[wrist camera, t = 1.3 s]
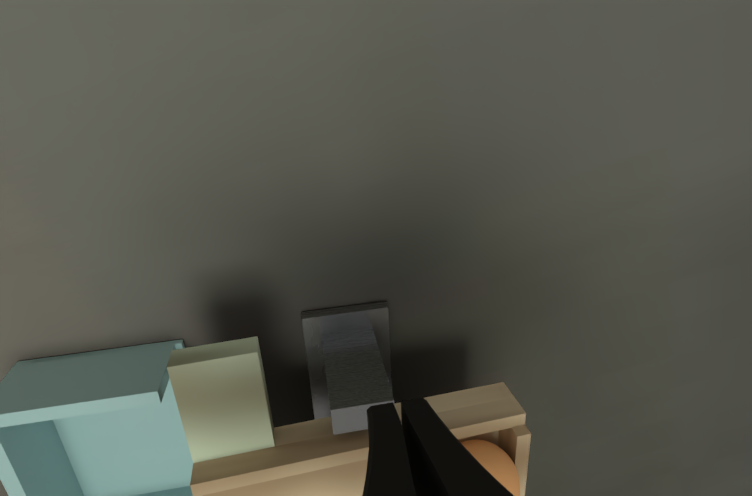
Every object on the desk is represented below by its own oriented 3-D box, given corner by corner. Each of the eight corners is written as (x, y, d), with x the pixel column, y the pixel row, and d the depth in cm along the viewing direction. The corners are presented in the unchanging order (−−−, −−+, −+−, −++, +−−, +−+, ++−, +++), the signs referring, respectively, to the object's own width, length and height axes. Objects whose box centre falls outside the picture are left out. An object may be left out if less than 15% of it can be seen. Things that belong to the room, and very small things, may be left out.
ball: (486, 467, 22) (534, 525, 19) (425, 494, 21) (467, 560, 18) (489, 413, 21) (541, 467, 18) (424, 439, 20) (469, 501, 17)
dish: (225, 483, 26) (216, 546, 22) (80, 508, 25) (50, 578, 21) (189, 338, 22) (173, 388, 19) (17, 361, 21) (-31, 418, 18)
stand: (393, 461, 27) (418, 559, 22) (322, 474, 27) (331, 577, 21) (385, 301, 23) (414, 375, 18) (301, 312, 22) (305, 392, 17)
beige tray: (497, 467, 23) (522, 513, 21) (220, 532, 21) (215, 591, 19) (509, 294, 20) (542, 327, 17) (171, 350, 17) (158, 396, 15)
